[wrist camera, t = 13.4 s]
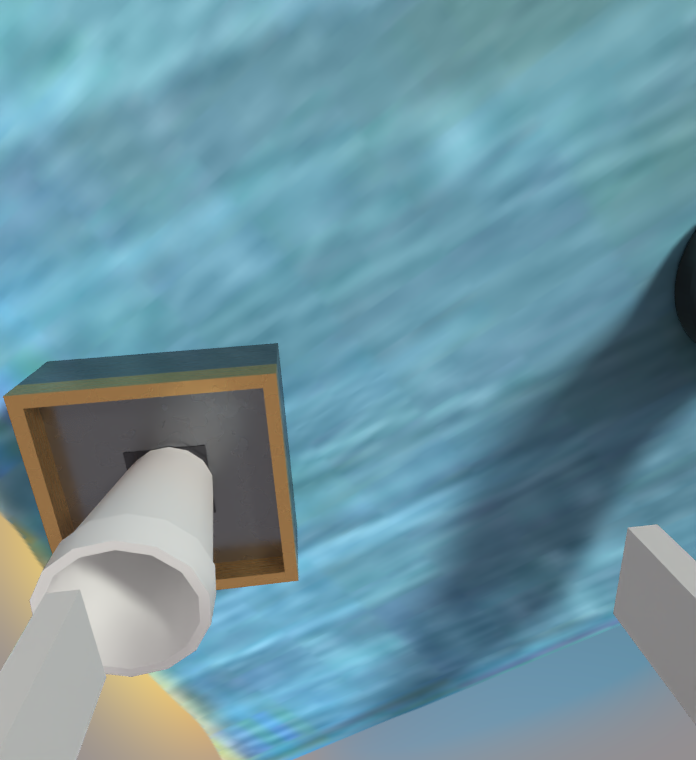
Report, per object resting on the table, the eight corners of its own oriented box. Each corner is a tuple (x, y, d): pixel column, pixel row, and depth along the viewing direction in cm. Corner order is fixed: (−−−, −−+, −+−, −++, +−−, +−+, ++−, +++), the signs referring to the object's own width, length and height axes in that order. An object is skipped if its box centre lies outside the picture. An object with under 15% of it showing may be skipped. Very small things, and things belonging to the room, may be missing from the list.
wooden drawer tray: (277, 343, 43) (276, 373, 37) (296, 527, 50) (298, 580, 43) (26, 363, 42) (-23, 398, 35) (80, 550, 48) (47, 609, 42)
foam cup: (166, 553, 43) (119, 700, 31) (80, 477, 40) (-9, 607, 28) (258, 489, 42) (246, 616, 30) (177, 405, 39) (127, 509, 27)
